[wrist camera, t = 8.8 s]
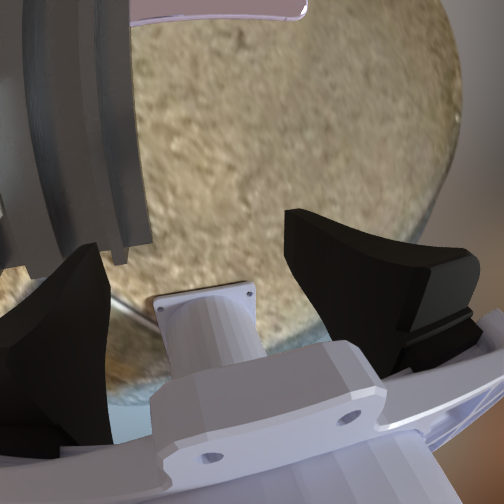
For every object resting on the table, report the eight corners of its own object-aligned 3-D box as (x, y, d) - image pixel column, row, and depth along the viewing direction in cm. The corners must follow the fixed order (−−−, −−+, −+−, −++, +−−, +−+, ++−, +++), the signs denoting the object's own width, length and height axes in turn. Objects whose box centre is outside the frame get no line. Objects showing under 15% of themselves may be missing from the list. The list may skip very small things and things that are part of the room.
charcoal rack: (152, 235, 21) (152, 259, 18) (-14, 265, 18) (-28, 289, 15) (131, -35, 11) (127, -52, 9) (-59, 35, 8) (-83, 35, 6)
